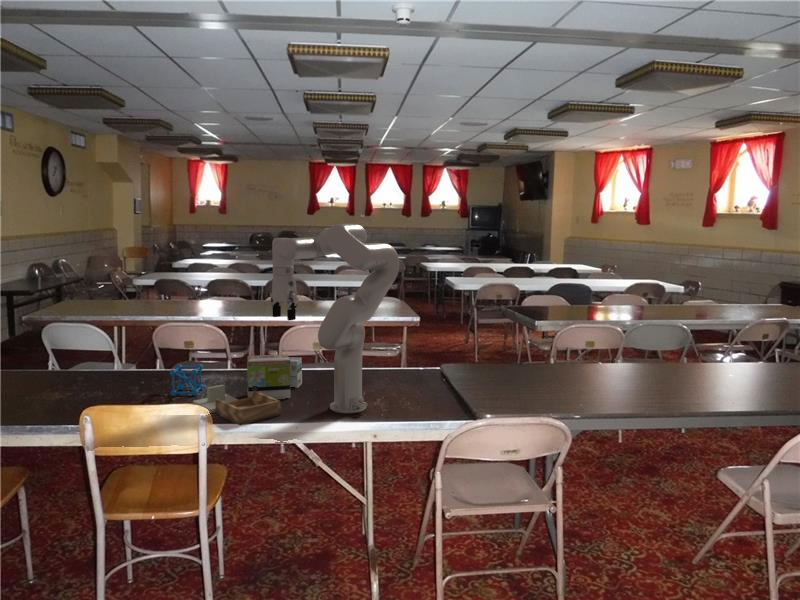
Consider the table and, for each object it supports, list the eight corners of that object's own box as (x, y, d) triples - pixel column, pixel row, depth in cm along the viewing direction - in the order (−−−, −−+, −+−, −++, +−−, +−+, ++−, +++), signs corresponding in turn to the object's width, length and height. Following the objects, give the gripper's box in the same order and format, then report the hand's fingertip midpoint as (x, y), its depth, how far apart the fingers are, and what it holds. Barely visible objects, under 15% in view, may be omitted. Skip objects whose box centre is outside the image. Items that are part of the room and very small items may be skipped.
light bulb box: (302, 383, 243) (302, 357, 241) (298, 388, 236) (297, 361, 235) (276, 382, 244) (275, 356, 242) (270, 387, 237) (270, 360, 236)
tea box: (248, 402, 218) (247, 361, 216) (247, 394, 228) (246, 355, 226) (291, 399, 223) (290, 359, 221) (288, 391, 232) (287, 353, 230)
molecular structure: (204, 389, 234) (203, 363, 233) (197, 396, 224) (196, 370, 223) (177, 389, 233) (176, 363, 232) (169, 397, 224) (168, 370, 222)
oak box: (280, 415, 204) (280, 400, 204) (239, 425, 194) (239, 410, 194) (255, 404, 216) (255, 390, 215) (215, 413, 206) (215, 399, 205)
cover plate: (243, 404, 213) (243, 388, 212) (210, 412, 205) (209, 395, 204) (225, 396, 223) (225, 380, 222) (193, 403, 214) (192, 386, 213)
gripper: (305, 273, 220) (306, 320, 223) (279, 269, 233) (279, 314, 235) (287, 274, 215) (288, 322, 217) (261, 270, 227) (262, 316, 230)
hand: (284, 318), depth 226 cm, fingers open, 9 cm apart
